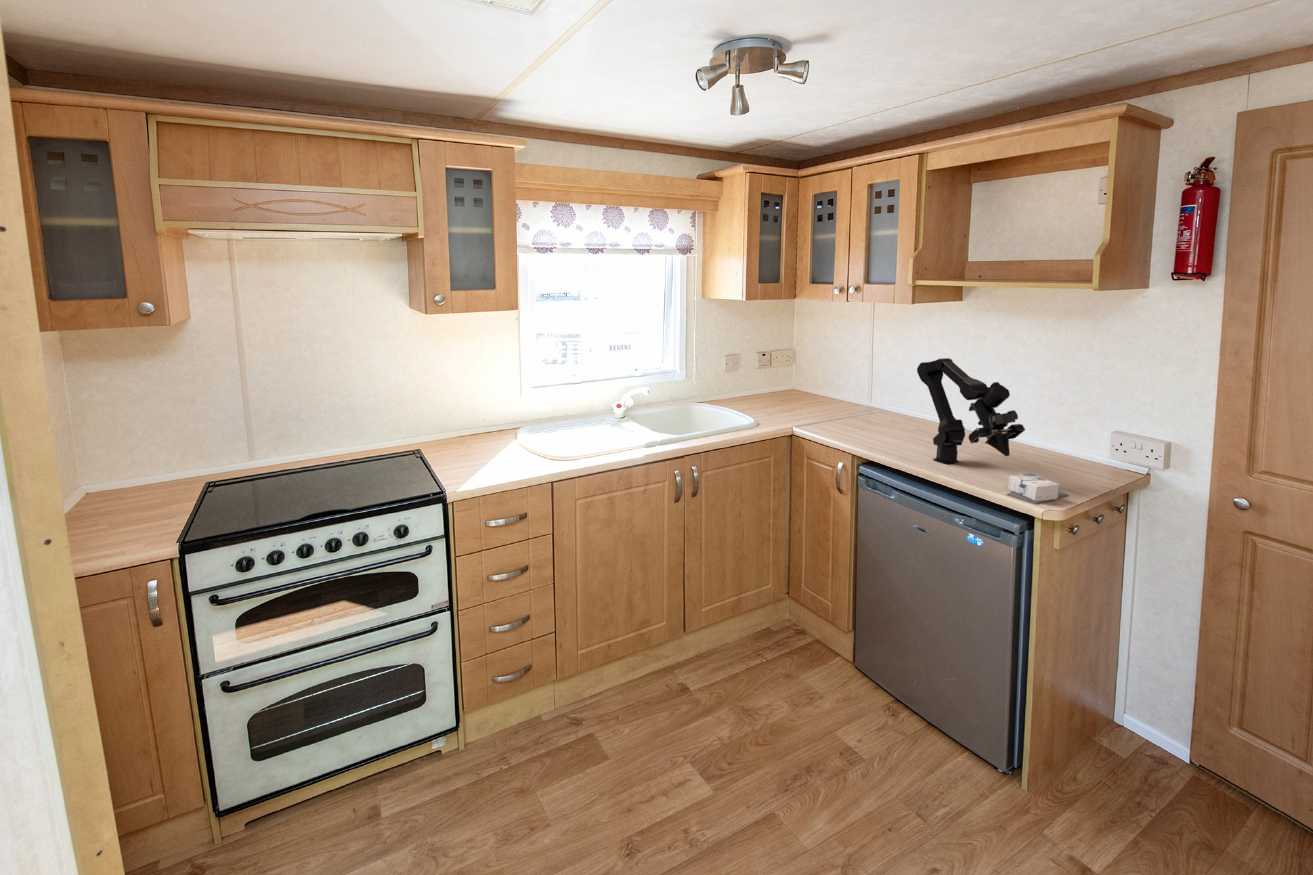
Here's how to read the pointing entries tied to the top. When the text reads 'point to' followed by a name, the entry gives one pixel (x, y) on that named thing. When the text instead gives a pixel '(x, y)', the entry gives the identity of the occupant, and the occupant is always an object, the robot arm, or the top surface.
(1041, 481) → the ink box
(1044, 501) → the mat
